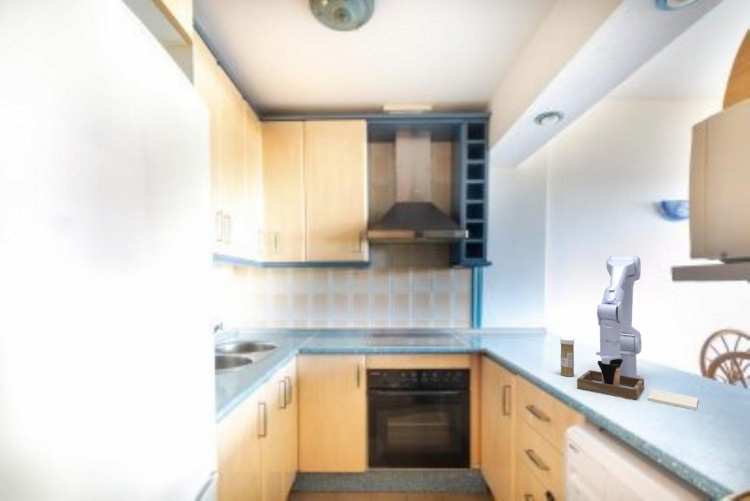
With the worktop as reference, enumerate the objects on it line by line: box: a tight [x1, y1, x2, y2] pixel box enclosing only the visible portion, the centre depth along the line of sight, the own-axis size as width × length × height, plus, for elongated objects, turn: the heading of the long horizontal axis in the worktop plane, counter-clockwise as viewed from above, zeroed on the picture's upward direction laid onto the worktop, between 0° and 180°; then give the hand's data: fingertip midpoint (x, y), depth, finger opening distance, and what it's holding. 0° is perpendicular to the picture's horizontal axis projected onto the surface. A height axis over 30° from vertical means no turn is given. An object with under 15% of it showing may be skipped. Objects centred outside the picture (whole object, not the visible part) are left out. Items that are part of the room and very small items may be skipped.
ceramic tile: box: [647, 389, 699, 411], centre depth 112 cm, size 11×11×1 cm
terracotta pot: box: [601, 367, 621, 386], centre depth 123 cm, size 6×6×7 cm
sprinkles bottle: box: [559, 337, 575, 377], centre depth 139 cm, size 5×5×13 cm
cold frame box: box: [576, 369, 645, 401], centre depth 123 cm, size 16×16×3 cm
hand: (610, 382), depth 123 cm, fingers closed on terracotta pot, 5 cm apart
